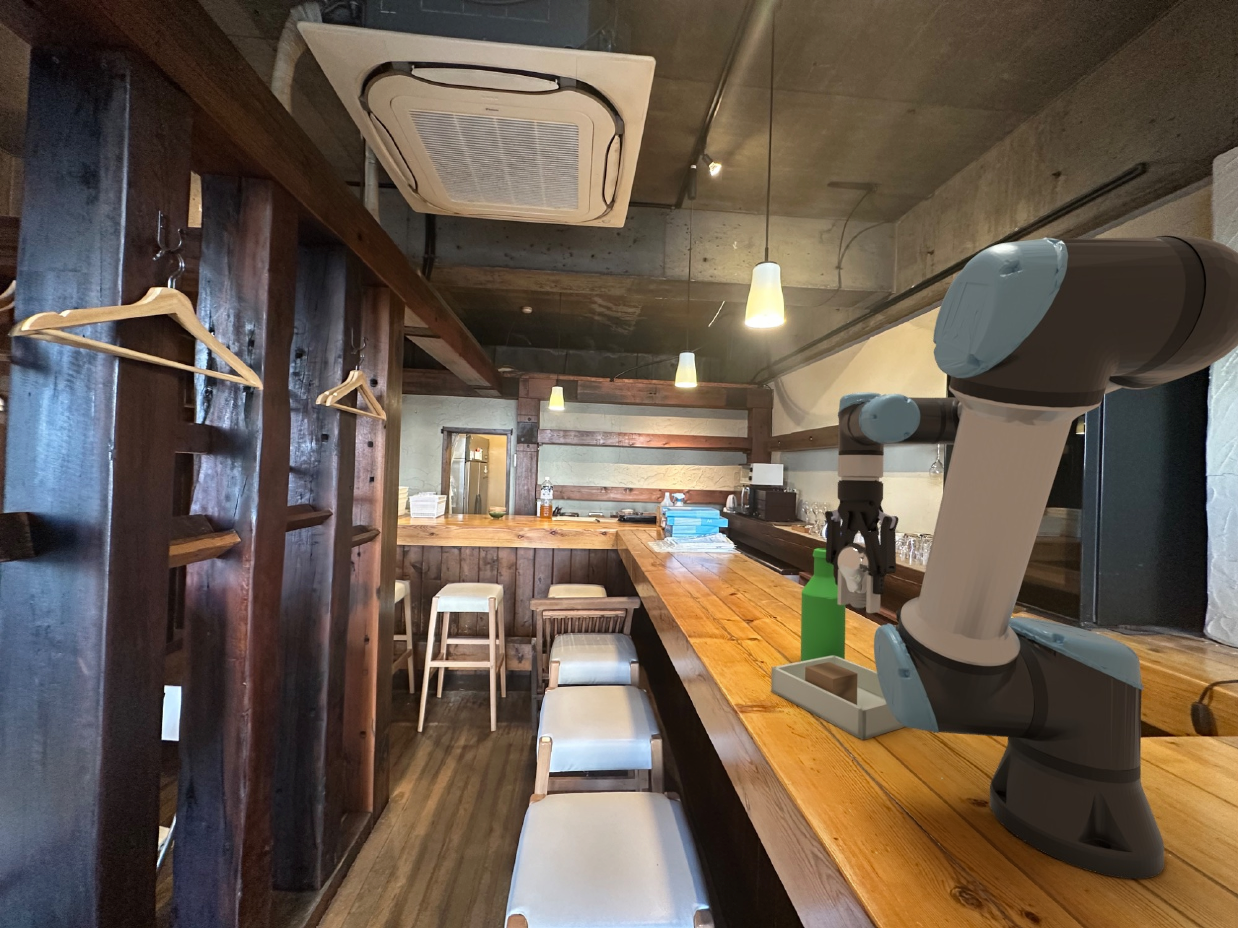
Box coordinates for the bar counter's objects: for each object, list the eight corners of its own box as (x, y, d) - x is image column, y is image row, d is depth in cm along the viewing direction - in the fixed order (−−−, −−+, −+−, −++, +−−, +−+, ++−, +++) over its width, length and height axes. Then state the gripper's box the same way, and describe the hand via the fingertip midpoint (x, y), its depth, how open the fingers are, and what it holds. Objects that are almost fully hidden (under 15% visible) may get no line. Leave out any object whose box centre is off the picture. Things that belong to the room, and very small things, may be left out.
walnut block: (832, 715, 87) (833, 678, 87) (804, 700, 92) (805, 666, 92) (857, 708, 89) (857, 673, 90) (828, 694, 95) (829, 661, 95)
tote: (929, 719, 87) (929, 692, 87) (862, 740, 80) (862, 710, 80) (833, 677, 105) (833, 654, 105) (771, 691, 97) (771, 667, 97)
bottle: (848, 665, 112) (849, 548, 112) (840, 678, 105) (842, 553, 105) (805, 656, 117) (807, 545, 117) (795, 668, 109) (797, 549, 110)
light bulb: (884, 609, 94) (884, 542, 95) (872, 615, 89) (872, 545, 90) (844, 603, 99) (844, 539, 99) (831, 608, 94) (831, 542, 94)
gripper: (922, 480, 88) (920, 618, 88) (832, 478, 104) (830, 594, 104) (894, 480, 85) (892, 623, 84) (805, 478, 101) (803, 598, 100)
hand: (858, 607), depth 94 cm, fingers closed on light bulb, 5 cm apart
